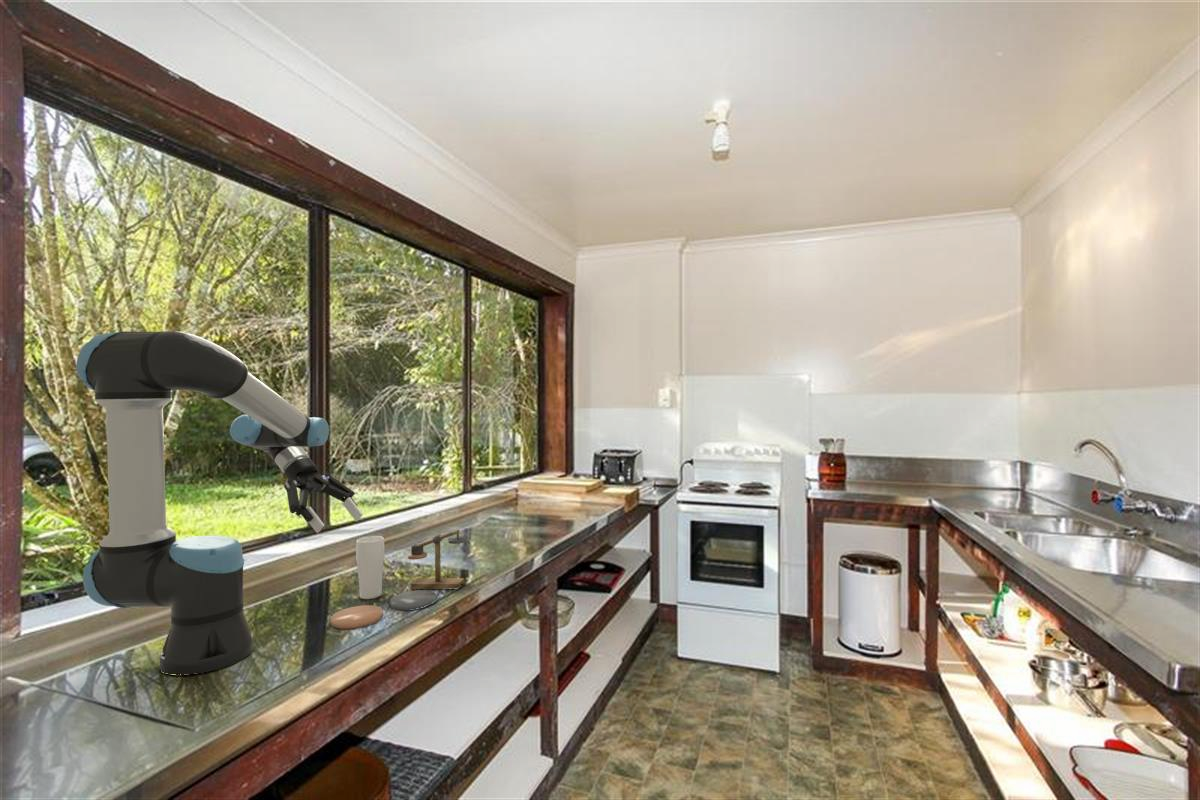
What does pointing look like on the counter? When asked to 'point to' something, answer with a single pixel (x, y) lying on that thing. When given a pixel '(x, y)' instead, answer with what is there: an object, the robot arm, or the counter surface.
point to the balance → (436, 563)
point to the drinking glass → (370, 566)
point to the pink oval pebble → (356, 617)
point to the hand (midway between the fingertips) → (341, 523)
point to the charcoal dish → (412, 599)
